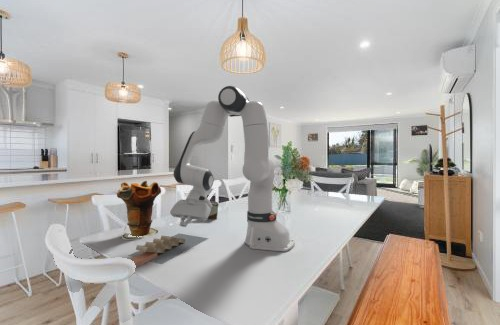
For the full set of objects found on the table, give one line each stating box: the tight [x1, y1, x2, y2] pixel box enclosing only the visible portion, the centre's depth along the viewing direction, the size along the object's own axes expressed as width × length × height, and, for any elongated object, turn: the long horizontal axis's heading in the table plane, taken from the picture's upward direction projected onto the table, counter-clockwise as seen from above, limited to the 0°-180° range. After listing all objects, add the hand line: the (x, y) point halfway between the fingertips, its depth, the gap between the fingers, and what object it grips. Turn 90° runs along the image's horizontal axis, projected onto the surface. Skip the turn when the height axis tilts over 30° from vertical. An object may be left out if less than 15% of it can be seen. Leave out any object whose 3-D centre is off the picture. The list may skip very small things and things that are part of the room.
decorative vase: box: [116, 180, 162, 241], centre depth 124 cm, size 21×23×28 cm
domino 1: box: [135, 244, 165, 253], centre depth 95 cm, size 2×5×10 cm
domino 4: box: [152, 237, 179, 246], centre depth 102 cm, size 2×5×10 cm
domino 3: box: [144, 241, 173, 249], centre depth 98 cm, size 2×5×10 cm
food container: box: [207, 200, 220, 220], centre depth 153 cm, size 12×6×10 cm, turn 84°
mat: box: [128, 233, 210, 265], centre depth 105 cm, size 18×29×1 cm, turn 154°
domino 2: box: [129, 252, 157, 268], centre depth 91 cm, size 2×5×10 cm
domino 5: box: [160, 235, 185, 243], centre depth 106 cm, size 2×5×10 cm
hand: (182, 226), depth 110 cm, fingers closed
